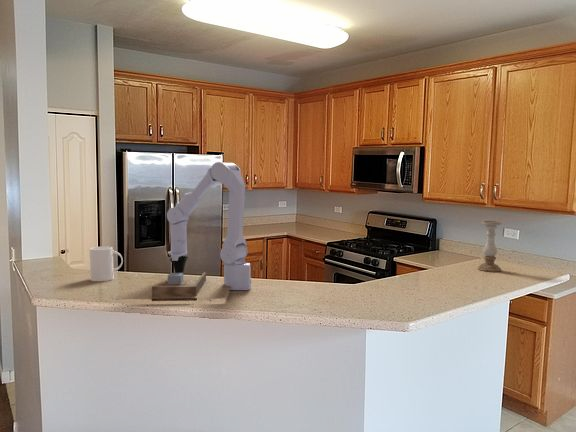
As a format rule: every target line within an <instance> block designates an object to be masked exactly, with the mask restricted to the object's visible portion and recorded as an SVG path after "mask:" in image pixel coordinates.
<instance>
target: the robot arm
mask: <svg viewBox="0 0 576 432" xmlns="http://www.w3.org/2000/svg"><path fill="white" fill-rule="evenodd" d="M241 171H242V170H241V168H240V167H239V166H238V165H237V164H235V163H234V162H222V161H216V162H214V163H213V164H212V166H211V167H209V168H208V169H207V172H206V174H205V175H204V176H203V178H202V179H201V180H200V182H198V184H197V185H196V187H195V188H194V189H193V191H188V192H187V193H186V192H185V193H184V194H183V195H182V198H181V199H180V201H179V202H176V203H175V206H174V207H173V206H172V207H171V208H168V210H167V212H166V219H167V221H168V222H169V224H170V225H169V226H170V227H169V229H170V251H167V255H170V256H171V257H170V259H169V260H170V262H171V264H172V266H173V269H174V273H183V274H184V273H185V272H184V271H185V266H186V262H187V260H188V257H189V256H186V255H187V254H188V242H187V241H188V240H187V239H188V238H187V234H188V233H187V231H188V230H187V226H188V221H189V219H190V215H191V214H192V212H193V211H194V210H195V209H196V208H197V207H198V206H199V205H200V203H201V198H202V197H203V195H205V194H206V193H207V191H209V189H211V187H213V185H215V184H218V183H220V184H222V185H224V186H225V188H226V189H227V190H228V191H229V193H228V209H227V227H226V229H227V230H226V237H225V238H224V240H223V242H222V248H221V249H220V252H219V256H220V257H219V258H220V259H221V261H222V262H223V285H224V286H227V287H229V289H228V290H229V291H249V290H251V284H252V277H251V263H250V262H246V261H245V259H246V257H247V255H248V253H249V251H248V247H247V243H246V242H247V239H246V238H245V237H244V235H243V234H244V232H243V231H244V220H245V219H244V215H245V214H244V213H245V199H246V183H245V180H244V178H243V176H242V172H241Z"/></svg>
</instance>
